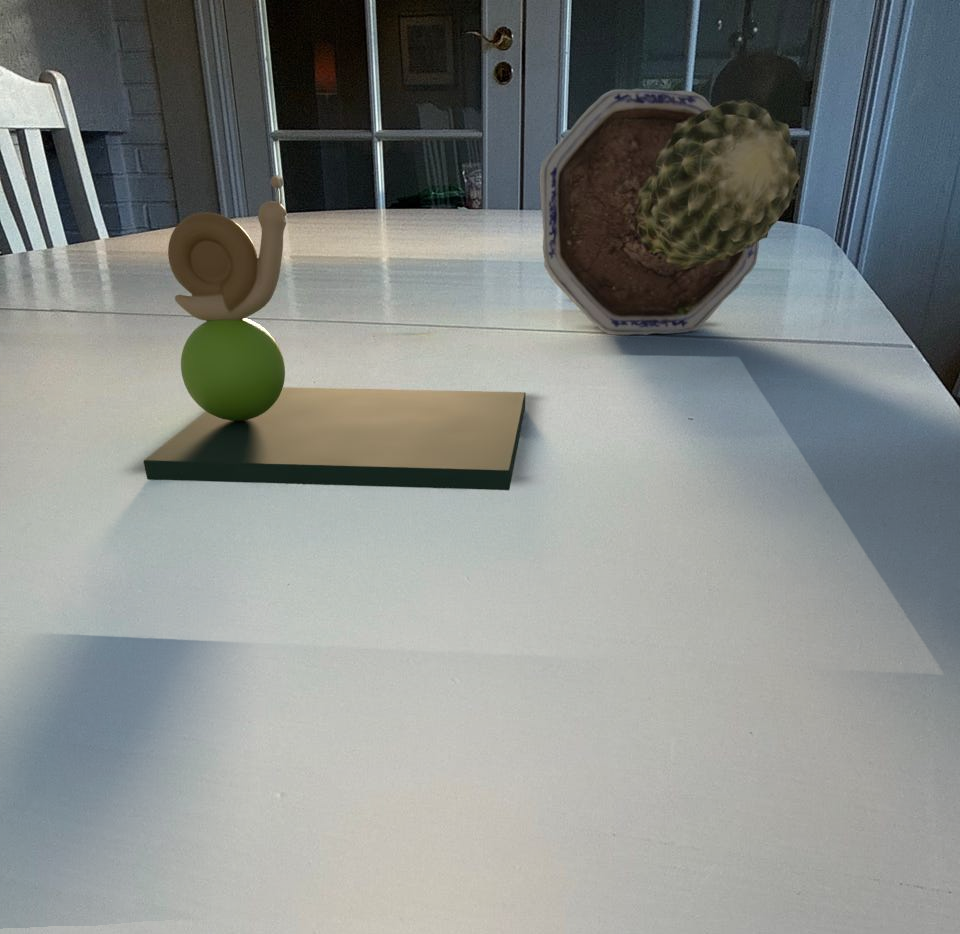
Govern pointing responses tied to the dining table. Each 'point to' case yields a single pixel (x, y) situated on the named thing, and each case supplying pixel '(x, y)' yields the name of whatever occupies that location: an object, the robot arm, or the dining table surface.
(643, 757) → the dining table surface
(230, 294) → the snail figurine
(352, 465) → the mat
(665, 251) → the potted plant
